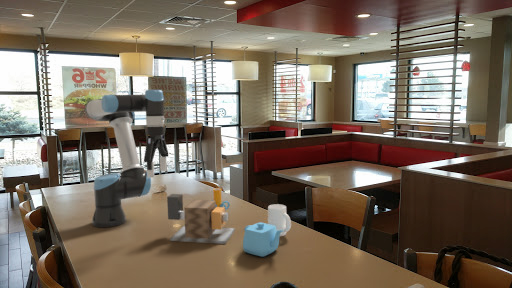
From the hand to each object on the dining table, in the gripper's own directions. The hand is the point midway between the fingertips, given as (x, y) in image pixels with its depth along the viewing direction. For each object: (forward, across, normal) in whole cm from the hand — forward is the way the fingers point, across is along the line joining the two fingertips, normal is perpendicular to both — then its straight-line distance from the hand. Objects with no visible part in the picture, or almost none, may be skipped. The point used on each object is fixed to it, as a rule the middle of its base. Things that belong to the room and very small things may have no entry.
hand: (157, 174), depth 166 cm
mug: (+26, +4, -54) cm, 60 cm away
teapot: (+26, -16, -49) cm, 58 cm away
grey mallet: (+19, -1, -19) cm, 27 cm away
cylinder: (+27, +22, -21) cm, 40 cm away
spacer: (+18, -2, -28) cm, 33 cm away
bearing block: (+26, -1, -20) cm, 33 cm away
